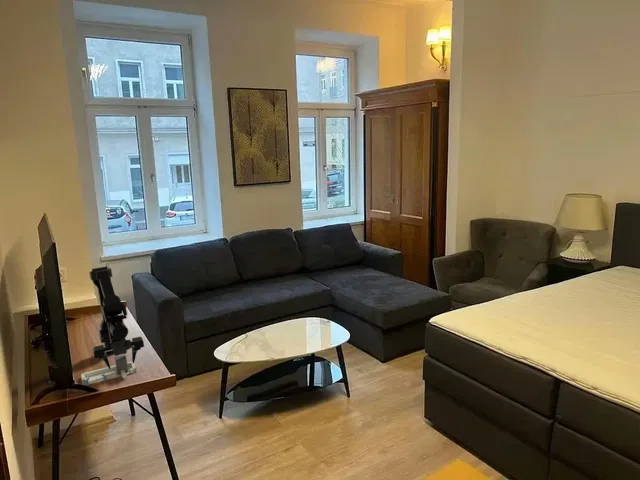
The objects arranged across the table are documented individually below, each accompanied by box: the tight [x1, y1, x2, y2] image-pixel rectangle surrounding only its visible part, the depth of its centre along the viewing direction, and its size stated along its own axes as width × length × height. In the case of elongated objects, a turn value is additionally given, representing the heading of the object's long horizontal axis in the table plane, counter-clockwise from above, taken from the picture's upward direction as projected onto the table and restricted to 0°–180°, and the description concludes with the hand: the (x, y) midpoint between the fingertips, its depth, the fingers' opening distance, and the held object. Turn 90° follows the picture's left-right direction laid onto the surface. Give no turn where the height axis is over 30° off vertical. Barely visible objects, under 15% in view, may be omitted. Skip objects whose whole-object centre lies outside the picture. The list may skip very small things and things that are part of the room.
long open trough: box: [80, 361, 137, 386], centre depth 188 cm, size 8×20×3 cm, turn 118°
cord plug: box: [114, 354, 128, 379], centre depth 188 cm, size 10×4×6 cm, turn 28°
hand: (121, 366), depth 191 cm, fingers open, 9 cm apart
